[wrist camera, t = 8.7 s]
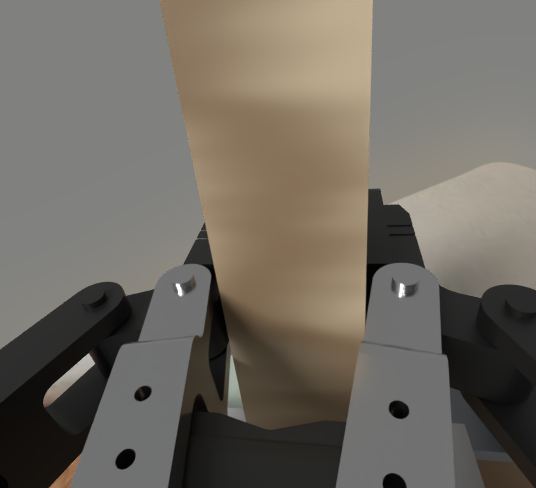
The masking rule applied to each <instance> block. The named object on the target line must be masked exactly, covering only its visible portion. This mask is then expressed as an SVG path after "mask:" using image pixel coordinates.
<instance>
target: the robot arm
mask: <svg viewBox="0 0 536 488" xmlns="http://www.w3.org/2000/svg"><path fill="white" fill-rule="evenodd" d="M88 353H89V354H90V356H91V357H92V359H93V361H94V362H95V365H94V366H93V367H91V368H90V369H89V370H88V371H87V372H86V373H85V374H84V375H83V376H82V377H80V378H79V379H78V380H77V381H76V382H75V383H74V384H73V385H72V386H71V387H69V388H68V389H67V390H66V391H65V392H64V393H63V394H62V395H61V396H60V397H58V398H57V399H56V400H55V401H54V402H53V403H52V404H51V405H49V406H48V407H46V408H44V406H43V399H44V396H45V394H46V392H47V390H48V389H49V388H50V387H51V386H52V385H53V384H54V383H55V382H56V381H57V380H58V379H59V378H61V377H62V376H63V375H64V374H65V373H66V372H67V371H69V370H70V369H71V368H72V367H73V366H74V365H75V364H77V363H78V362H79V361H80V360H81V359H82V358H83V357H85V356H86V355H87V354H88ZM230 358H231V347H230V343H229V337H228V332H227V327H226V322H225V317H224V312H223V308H222V303H221V298H220V293H219V288H218V283H217V278H216V274H215V269H214V264H213V259H212V254H211V249H210V244H209V239H208V235H207V230H206V225H205V223H204V225H203V227H202V229H201V231H200V233H199V235H198V237H197V240H196V241H195V243H194V245H193V247H192V249H191V250H190V253H189V254H188V257H187V258H186V260H185V262H184V264H183V265H181V266H178V267H175V268H173V269H171V270H169V271H167V272H166V273H165V274H163V275H162V276H161V277H160V278H159V280H158V282H157V284H156V286H155V289H153V290H150V291H145V292H141V293H137V294H132V295H128V296H126V295H125V293H124V290H123V288H122V287H121V286H120V285H119V284H117V283H114V282H101V283H97V284H94V285H91V286H88V287H86V288H85V289H83V290H81V291H80V292H78V293H77V294H75V295H74V296H72V297H71V298H70V299H68V300H67V301H66V302H64V303H63V304H62V305H60V306H59V307H58V308H56V309H55V310H53V311H52V312H51V313H49V314H48V315H47V316H45V317H44V318H43V319H41V320H40V321H38V322H37V323H36V324H34V325H33V326H32V327H30V328H29V329H28V330H26V331H25V332H23V333H22V334H21V335H19V336H18V337H17V338H15V339H14V340H13V341H11V342H10V343H9V344H7V345H6V346H5V347H3V348H2V349H0V488H49V487H50V486H51V485H52V484H53V483H54V481H55V480H56V479H57V478H58V477H59V476H60V475H61V474H62V473H63V472H64V471H65V470H66V469H67V468H68V467H69V465H70V464H71V463H72V462H73V461H74V460H75V459H76V458H77V457H78V456H79V455H80V454H81V453H82V454H81V457H80V460H79V463H78V465H77V468H76V471H75V474H74V477H73V479H72V482H71V485H70V488H455V476H454V458H453V440H452V422H451V404H450V388H453V389H456V390H459V391H460V393H461V395H462V397H463V398H464V399H465V401H466V402H467V403H468V405H469V406H470V407H471V408H472V410H473V411H474V412H475V413H476V415H477V416H478V417H479V419H480V420H481V421H482V422H483V424H484V425H485V426H486V427H487V429H488V430H489V431H490V432H491V434H492V435H493V436H494V437H495V439H496V440H497V441H498V443H499V444H500V445H501V446H502V448H503V449H504V450H505V451H506V453H507V454H508V455H509V456H510V458H511V459H512V460H513V461H514V463H515V464H516V465H517V467H518V468H519V469H520V470H521V472H522V473H523V474H524V475H525V477H526V478H527V479H528V480H529V482H530V483H531V484H532V486H533V487H534V488H536V290H534V289H531V288H527V287H524V286H519V285H499V286H494V287H492V288H490V289H488V290H487V291H486V292H485V293H484V294H483V296H482V298H477V297H473V296H468V295H464V294H460V293H456V292H453V291H450V290H447V289H445V288H443V287H441V286H440V285H439V283H438V281H437V279H436V277H435V276H434V275H433V274H432V273H431V272H430V271H428V270H427V269H425V266H424V263H423V259H422V256H421V252H420V249H419V245H418V242H417V239H416V236H415V232H414V228H413V227H412V222H411V218H410V215H409V213H408V212H407V211H406V210H404V209H403V208H402V207H401V206H400V205H383V201H382V196H381V191H380V189H368V221H367V263H366V306H365V331H364V337H363V340H361V342H360V346H359V351H358V357H357V363H356V369H355V375H354V381H353V387H352V393H351V399H350V405H349V411H348V417H347V422H341V421H327V420H323V421H318V422H312V423H307V424H301V425H296V426H290V427H285V428H279V429H273V430H268V429H263V428H261V427H258V426H255V425H252V424H249V423H247V422H244V421H241V420H238V419H235V418H233V417H230V416H228V411H227V410H228V391H229V375H230Z"/></svg>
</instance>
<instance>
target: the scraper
mask: <svg viewBox="0 0 536 488" xmlns="http://www.w3.org/2000/svg"><path fill="white" fill-rule="evenodd" d="M159 1H160V5H161V11H162V15H163V20H164V25H165V30H166V35H167V40H168V45H169V49H170V54H171V59H172V64H173V69H174V73H175V79H176V84H177V88H178V93H179V98H180V103H181V108H182V113H183V118H184V122H185V127H186V132H187V137H188V141H189V147H190V152H191V157H192V161H193V166H194V171H195V176H196V181H197V186H198V191H199V195H200V200H201V205H202V210H203V215H204V220H205V225H206V230H207V235H208V239H209V244H210V249H211V254H212V259H213V264H214V269H215V274H216V278H217V283H218V288H219V293H220V298H221V303H222V308H223V312H224V317H225V322H226V327H227V332H228V337H229V342H230V347H231V351H232V356H233V361H234V366H235V371H236V376H237V381H238V386H239V390H240V395H241V400H242V405H243V409H237V408H228V410H227V411H228V416H230V417H233V418H235V419H238V420H241V421H244V422H247V423H249V424H252V425H255V426H258V427H261V428H263V429H268V430H273V429H279V428H285V427H290V426H296V425H301V424H307V423H312V422H318V421H323V420H327V421H341V422H347V417H348V411H349V405H350V399H351V393H352V387H353V381H354V375H355V369H356V363H357V357H358V351H359V346H360V342H361V340H363V337H364V331H365V306H366V263H367V221H368V178H369V175H368V174H369V135H370V95H371V52H372V50H371V49H372V9H373V0H159ZM452 440H453V458H454V476H455V488H485V486H484V483H483V480H482V477H481V474H480V471H479V468H478V464H477V461H476V458H475V455H474V452H473V449H472V446H471V443H470V440H469V436H468V433H467V430H466V427H465V424H458V423H452Z"/></svg>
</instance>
